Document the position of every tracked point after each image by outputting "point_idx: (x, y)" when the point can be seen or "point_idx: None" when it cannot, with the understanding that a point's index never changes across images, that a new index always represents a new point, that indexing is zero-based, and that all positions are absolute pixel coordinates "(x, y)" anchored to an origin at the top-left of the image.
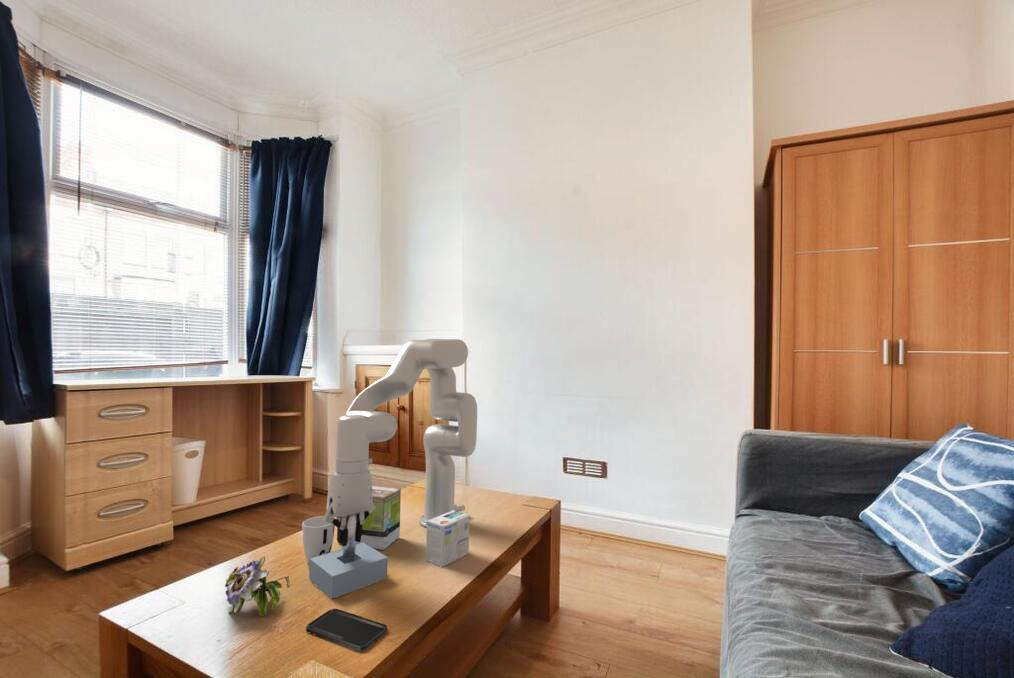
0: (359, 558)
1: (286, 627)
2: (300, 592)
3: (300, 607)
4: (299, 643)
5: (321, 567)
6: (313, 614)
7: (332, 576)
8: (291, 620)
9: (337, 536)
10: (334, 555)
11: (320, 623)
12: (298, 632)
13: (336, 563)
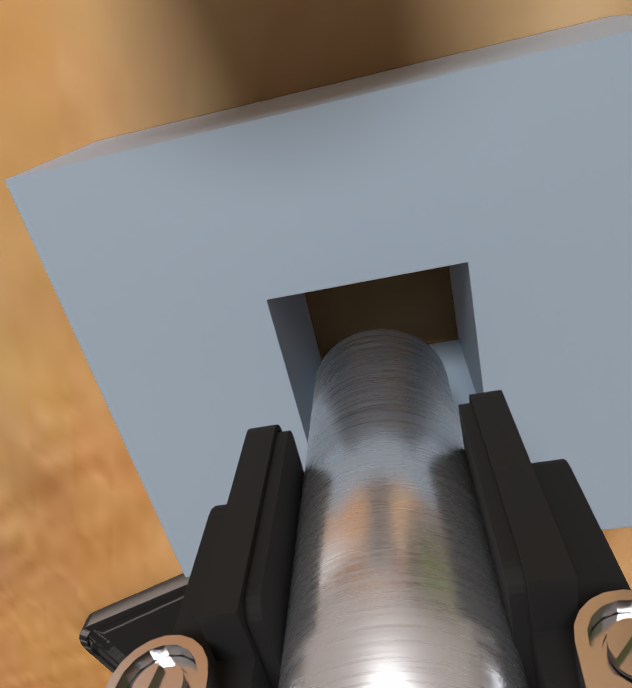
0: (479, 375)
1: (2, 571)
2: (42, 301)
3: (53, 459)
4: (64, 671)
5: (117, 420)
6: (118, 542)
7: (186, 574)
8: (18, 537)
9: (204, 557)
10: (263, 237)
11: (139, 638)
12: (56, 619)
13: (247, 416)
